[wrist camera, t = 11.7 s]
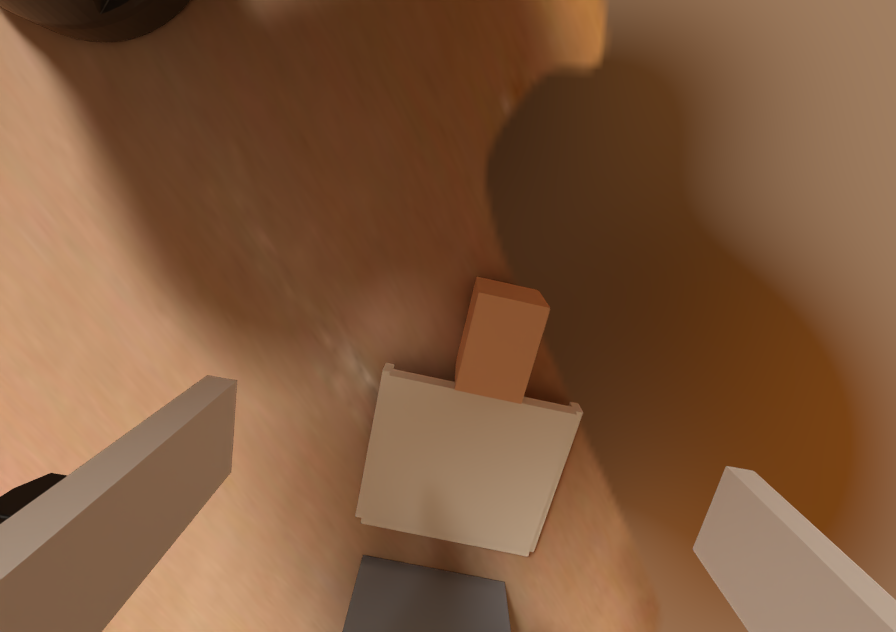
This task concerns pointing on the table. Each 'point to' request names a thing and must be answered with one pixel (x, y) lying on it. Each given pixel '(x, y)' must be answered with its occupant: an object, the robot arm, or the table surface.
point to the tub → (424, 600)
